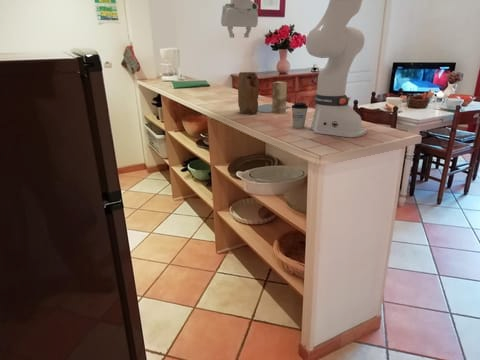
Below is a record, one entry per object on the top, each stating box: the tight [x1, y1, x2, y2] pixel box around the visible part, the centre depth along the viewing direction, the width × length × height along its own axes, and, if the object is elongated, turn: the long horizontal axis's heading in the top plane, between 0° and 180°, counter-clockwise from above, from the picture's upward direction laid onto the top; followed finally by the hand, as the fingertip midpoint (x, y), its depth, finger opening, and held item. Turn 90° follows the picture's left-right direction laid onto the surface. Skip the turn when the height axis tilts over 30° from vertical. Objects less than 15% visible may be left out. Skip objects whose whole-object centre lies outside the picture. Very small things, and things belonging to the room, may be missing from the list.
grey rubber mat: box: [257, 103, 291, 114], centre depth 187 cm, size 16×20×1 cm
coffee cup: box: [291, 102, 309, 129], centre depth 145 cm, size 7×7×10 cm
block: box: [237, 71, 260, 115], centre depth 173 cm, size 11×8×20 cm
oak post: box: [271, 80, 288, 114], centre depth 175 cm, size 5×5×15 cm
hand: (239, 37), depth 161 cm, fingers open, 8 cm apart
